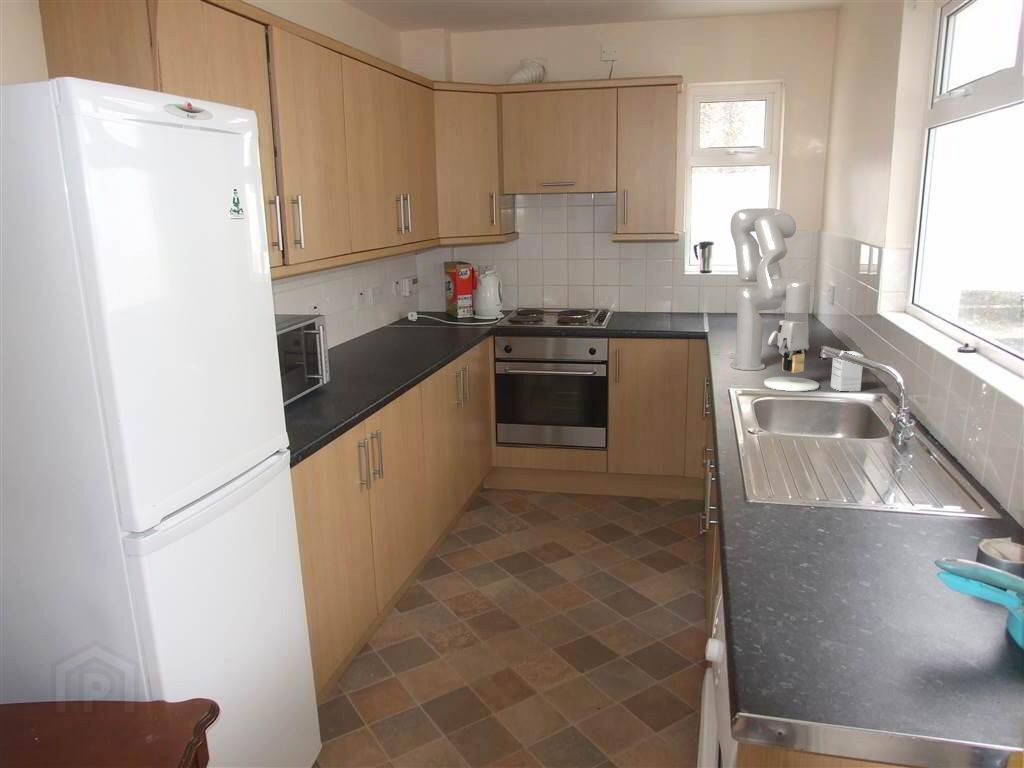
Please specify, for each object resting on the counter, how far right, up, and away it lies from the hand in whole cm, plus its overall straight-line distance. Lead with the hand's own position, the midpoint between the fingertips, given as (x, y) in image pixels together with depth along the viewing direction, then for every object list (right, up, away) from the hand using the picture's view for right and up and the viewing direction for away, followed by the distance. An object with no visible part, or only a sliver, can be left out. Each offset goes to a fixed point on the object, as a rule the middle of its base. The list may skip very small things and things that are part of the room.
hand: (792, 369), depth 265 cm
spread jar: (+20, +11, +69) cm, 73 cm away
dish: (0, -6, +2) cm, 6 cm away
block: (0, -1, 0) cm, 1 cm away
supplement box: (+17, -7, -4) cm, 18 cm away
